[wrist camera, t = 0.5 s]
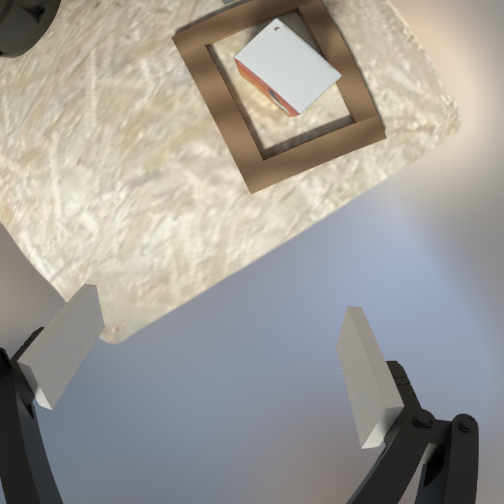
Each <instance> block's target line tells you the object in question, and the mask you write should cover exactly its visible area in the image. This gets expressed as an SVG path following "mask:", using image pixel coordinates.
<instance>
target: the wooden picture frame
mask: <svg viewBox="0 0 504 504" xmlns="http://www.w3.org/2000/svg"><path fill="white" fill-rule="evenodd" d="M293 11H298V13H299V14H300V16H301V18H302V19H303V21H304V23H305V25H306V26H307V28H308V30H309V32H310V33H311V35H312V37H313V39H314V41H315V43H316V44H317V46H318V48H319V50H320V52H321V54H322V56H323V58H324V59H325V60H326V61H327V62H328V63H329V64H330V65H332V66H333V67H334V68H335V69H336V70H337V71H338V72H340V73H341V74H342V76H341V77H340V78H339V79H338V80H337V81H336V84H337V86H338V88H339V91H340V93H341V95H342V97H343V99H344V102H345V104H346V106H347V108H348V111H349V113H350V115H351V118H352V120H353V122H354V123H352V124H350V125H347V126H344V127H342V128H339V129H337V130H334V131H332V132H329V133H326V134H324V135H321V136H319V137H316V138H314V139H312V140H309V141H307V142H304V143H302V144H299V145H297V146H295V147H292V148H290V149H288V150H285V151H283V152H281V153H278V154H276V155H274V156H271V157H269V158H267V159H265V160H263V158H262V156H261V154H260V152H259V149H258V147H257V145H256V143H255V141H254V139H253V137H252V135H251V133H250V131H249V129H248V127H247V125H246V123H245V121H244V119H243V117H242V115H241V113H240V111H239V109H238V107H237V105H236V103H235V101H234V99H233V97H232V95H231V93H230V91H229V89H228V87H227V85H226V83H225V81H224V80H223V78H222V76H221V74H220V72H219V70H218V68H217V66H216V64H215V62H214V61H213V59H212V57H211V55H210V53H209V51H208V49H207V48H206V46H209V45H211V44H213V43H215V42H217V41H219V40H221V39H223V38H226V37H228V36H230V35H233V34H235V33H237V32H240V31H242V30H244V29H247V28H249V27H252V26H254V25H257V24H259V23H262V22H265V21H267V20H270V19H273V18H276V17H278V16H281V15H284V14H287V13H290V12H293ZM171 38H172V39H173V41H174V43H175V45H176V47H177V49H178V51H179V53H180V55H181V56H182V58H183V60H184V62H185V64H186V66H187V68H188V70H189V72H190V74H191V76H192V78H193V79H194V81H195V83H196V85H197V87H198V89H199V91H200V93H201V95H202V97H203V99H204V101H205V103H206V105H207V107H208V109H209V111H210V113H211V115H212V116H213V118H214V120H215V122H216V124H217V126H218V128H219V130H220V132H221V134H222V136H223V138H224V140H225V142H226V144H227V146H228V148H229V150H230V152H231V154H232V156H233V158H234V160H235V162H236V164H237V167H238V169H239V171H240V173H241V175H242V177H243V179H244V181H245V183H246V185H247V187H248V189H249V191H250V193H251V194H253V193H255V192H257V191H260V190H262V189H264V188H266V187H269V186H271V185H273V184H276V183H278V182H280V181H282V180H285V179H287V178H289V177H292V176H294V175H296V174H299V173H301V172H303V171H306V170H308V169H311V168H313V167H315V166H318V165H320V164H323V163H325V162H327V161H330V160H332V159H335V158H337V157H340V156H342V155H345V154H347V153H350V152H352V151H355V150H357V149H360V148H362V147H365V146H368V145H370V144H373V143H375V142H378V141H381V140H383V139H386V138H387V137H386V135H385V132H384V129H383V127H382V124H381V121H380V119H379V116H378V114H377V111H376V109H375V107H374V104H373V102H372V99H371V97H370V95H369V92H368V90H367V88H366V86H365V83H364V81H363V79H362V77H361V75H360V73H359V70H358V68H357V66H356V64H355V62H354V60H353V58H352V56H351V54H350V52H349V50H348V48H347V46H346V44H345V42H344V41H343V39H342V37H341V35H340V33H339V31H338V30H337V28H336V26H335V24H334V22H333V21H332V19H331V17H330V15H329V14H328V12H327V10H326V9H325V7H324V5H323V4H322V2H321V0H252V1H249V2H247V3H244V4H242V5H239V6H237V7H234V8H232V9H229V10H227V11H225V12H222V13H220V14H218V15H216V16H213V17H211V18H209V19H207V20H205V21H203V22H200V23H198V24H196V25H194V26H192V27H190V28H188V29H186V30H184V31H182V32H181V33H179V34H177V35H175V36H173V37H171Z"/></svg>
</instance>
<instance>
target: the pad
mask: <svg viewBox="0 0 504 504" xmlns="http://www.w3.org/2000/svg"><path fill="white" fill-rule="evenodd" d="M222 1H223V3H224V4H227V3H229V2H232V1H234V0H222Z"/></svg>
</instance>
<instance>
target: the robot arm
mask: <svg viewBox="0 0 504 504" xmlns="http://www.w3.org/2000/svg"><path fill="white" fill-rule="evenodd" d="M59 3H60V0H0V57H5V58H14V57H17V56H20V55H22V54H24V53H25V52H27V51H28V50H29V49H30V48H32V47H33V46H34V45H35V44H36V43H37V42H38V41H39V40H40V38H41V37H42V36H43V35H44V33H45V32H46V30H47V29H48V27H49V26H50V24H51V22H52V20H53V19H54V16H55V14H56V12H57V9H58V6H59ZM104 327H105V326H104V321H103V317H102V312H101V307H100V303H99V298H98V292H97V287H96V285H90V284H84V285H83V286H82V287H81V288H80V289H79V290H78V291H77V292H76V293H75V295H74V296H73V297H72V298H71V299H70V300H69V301H68V302H67V303H66V304H65V305H64V307H63V308H62V309H61V310H60V311H59V312H58V313H57V314H56V316H55V317H54V318H53V319H52V320H51V321H50V322H49V323H48V325H47V326H46V327H41V328H39V329H37V330H36V331H34V332H33V333H32V334H31V336H30V337H29V338H28V340H26V341H25V342H24V345H22V346H21V347H20V348H19V350H18V351H17V352H16V353H15V355H14V356H13V357H12V358H11V359H9V357H8V355H7V353H6V351H5V349H3V348H1V347H0V478H1V482H2V487H3V491H4V495H5V499H6V503H7V504H63V502H62V499H61V497H60V494H59V491H58V489H57V486H56V483H55V480H54V477H53V475H52V472H51V469H50V466H49V462H48V459H47V456H46V452H45V449H44V445H43V442H42V438H41V434H40V430H39V426H38V421H37V417H36V412H35V407H34V405H33V403H32V401H33V399H34V398H36V399H37V401H38V403H39V405H40V406H43V407H46V408H48V409H51V410H53V408H54V407H55V405H56V403H57V401H58V400H59V398H60V396H61V395H62V393H63V391H64V390H65V388H66V386H67V385H68V383H69V381H70V380H71V378H72V377H73V375H74V373H75V372H76V370H77V368H78V367H79V365H80V364H81V362H82V361H83V359H84V357H85V356H86V354H87V353H88V351H89V350H90V348H91V347H92V345H93V344H94V342H95V341H96V339H97V338H98V336H99V335H100V333H101V332H102V330H103V329H104ZM336 350H337V353H338V357H339V361H340V364H341V368H342V372H343V376H344V379H345V383H346V387H347V391H348V395H349V398H350V403H351V407H352V411H353V415H354V419H355V423H356V427H357V431H358V436H359V440H360V444H361V448H371V447H378V446H379V445H380V444H381V442H382V441H383V439H384V442H385V445H386V447H385V448H384V450H383V451H382V453H381V454H380V455H379V457H378V458H377V461H376V463H375V464H374V465H373V467H372V468H371V470H370V471H369V473H368V474H367V476H366V478H365V479H364V480H363V482H362V483H361V484H360V486H359V487H358V489H357V490H356V492H355V493H354V494H353V495H352V497H351V498H350V499H349V501H348V502H347V503H346V504H398V502H399V501H400V499H401V497H402V495H403V494H404V492H405V490H406V488H407V486H408V484H409V482H410V481H411V479H412V477H413V475H414V473H415V471H416V469H417V467H418V465H419V464H423V467H422V472H421V478H420V482H419V487H418V491H417V496H416V500H415V504H475V501H476V490H477V478H478V454H479V434H478V433H479V431H478V424H477V422H476V420H475V419H474V418H473V417H472V416H470V415H467V414H459V415H457V416H456V417H455V418H454V419H453V420H452V421H444V420H437V419H435V418H434V416H433V415H432V414H431V413H430V412H428V411H427V410H424V409H422V408H421V406H420V403H419V401H418V399H417V397H416V394H415V392H414V390H413V388H412V386H411V385H410V381H409V379H408V378H407V375H406V373H405V370H404V368H403V367H402V366H401V365H400V364H399V363H398V362H397V361H385V358H384V356H383V354H382V351H381V349H380V347H379V345H378V342H377V340H376V338H375V336H374V333H373V331H372V329H371V327H370V325H369V323H368V320H367V318H366V316H365V314H364V312H363V310H362V308H361V307H347V310H346V313H345V317H344V321H343V325H342V329H341V332H340V336H339V339H338V343H337V346H336Z"/></svg>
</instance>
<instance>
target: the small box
mask: <svg viewBox="0 0 504 504" xmlns="http://www.w3.org/2000/svg"><path fill="white" fill-rule="evenodd" d="M234 59H235V62H236V65H237V67H238V70H239V73H240V75H241V76H242V77H243V78H244V79H246V80H247V81H248V82H250V83H251V84H252V85H253V86H255V87H256V88H257V89H258V90H259V91H260V92H261V93H263V94H264V95H265V96H266V97H267V98H268V99H269V100H270V101H271V102H273V103H274V104H275V105H276V106H277V107H278V108H279V109H280V110H281V111H282V112H284V113H285V114H286V115H287V116H288V117H293V116H297V115H300V114H302V113H303V112H304V111H305V110H306V109H307V108H308V107H309V106H310V105H311V104H312V103H313V102H314V101H316V100H317V99H318V98H319V97H320V96H321V95H322V94H323V93H324V92H325V91H326V90H327V89H328V88H330V87H331V86H332V85H333V84H334V83H335V82H336V81H337V80H338V79H339V78H340V77H341V76H342V74H341V73H340V72H338V71H337V70H336V69H335V68H334V67H333V66H332V65H330V64H329V63H328V62H327V61H326V60H325V59H324V58H323V57H322V56H321V55H319V54H318V53H317V52H316V51H315V50H314V49H313V48H312V47H310V46H309V45H308V44H307V43H306V42H305V41H303V40H302V39H301V38H300V37H299V36H298V35H296V34H295V33H294V32H293V31H292V30H291V29H289V28H288V27H287V26H286V25H285V24H284V23H283V22H281V21H280V20H279V19H278V18H275V19H274V20H273V21H272V22H271V23H270V24H268V25H267V26H266V27H265V28H264V29H263V30H262V31H261V32H260V33H258V34H257V35H256V36H255V37H254V38H253V39H252V40H251V41H250V42H249V43H248V44H247V45H246V46H245V47H243V48H242V49H241V50H240V51H239V52H238V53H237V54H236V55H235V56H234Z"/></svg>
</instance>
